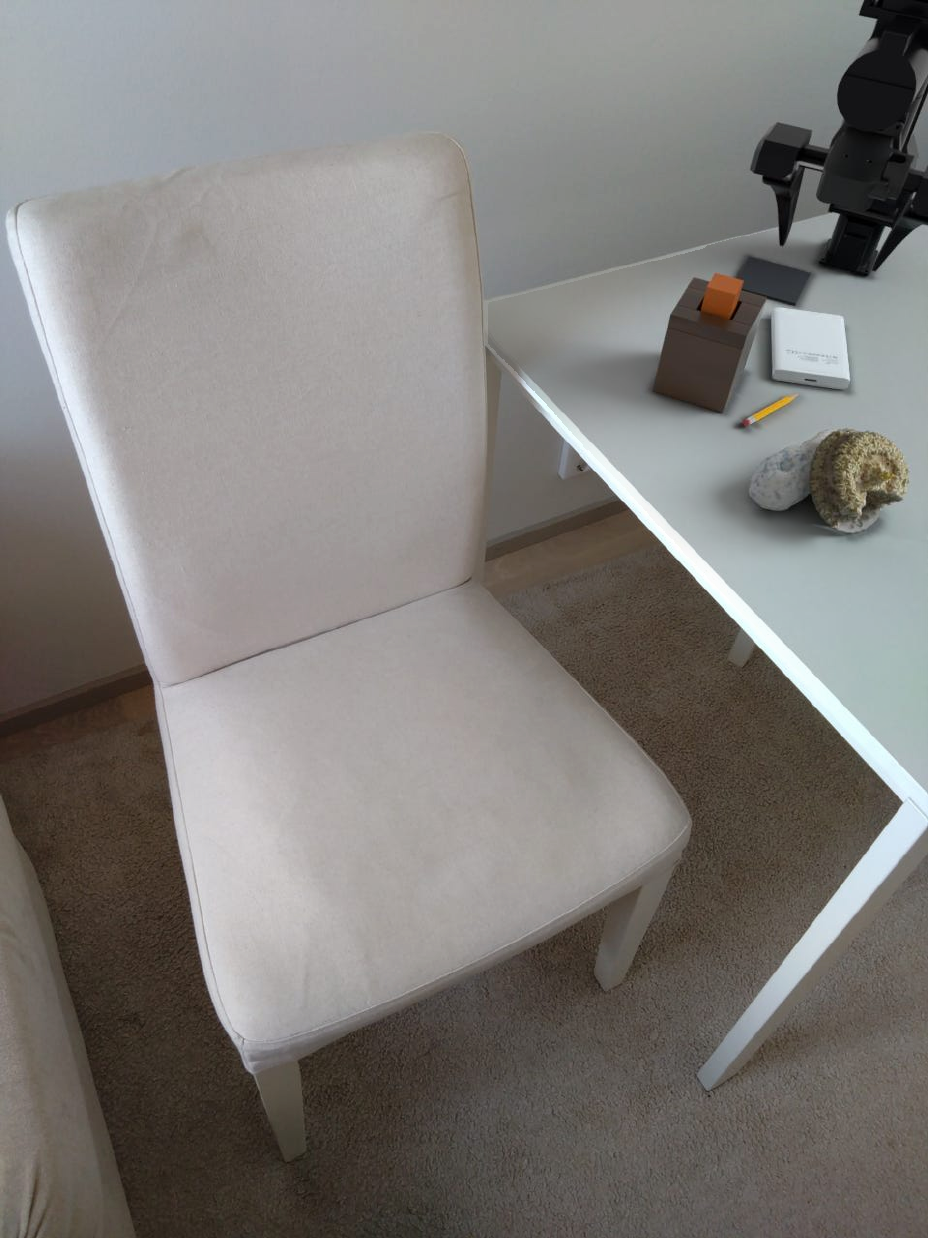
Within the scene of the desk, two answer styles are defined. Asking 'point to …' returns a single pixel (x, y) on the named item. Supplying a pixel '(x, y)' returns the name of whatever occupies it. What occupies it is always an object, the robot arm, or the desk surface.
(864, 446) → the coral piece
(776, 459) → the decorative stone
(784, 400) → the pencil
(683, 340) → the holder
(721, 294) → the block
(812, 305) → the desk surface
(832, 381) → the hard drive
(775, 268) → the coaster
